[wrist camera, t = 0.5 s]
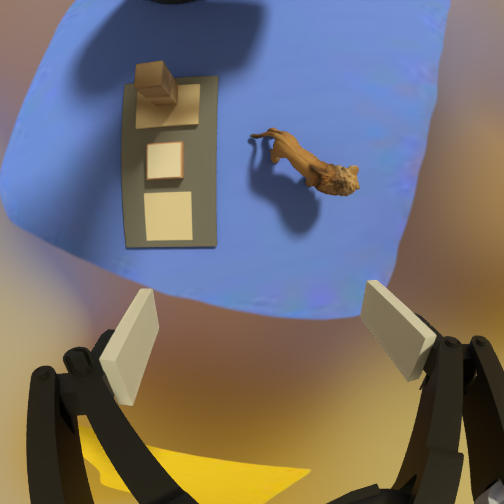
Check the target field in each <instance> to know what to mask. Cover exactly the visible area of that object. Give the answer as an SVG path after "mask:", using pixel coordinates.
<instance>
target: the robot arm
mask: <svg viewBox="0 0 504 504" xmlns="http://www.w3.org/2000/svg"><path fill="white" fill-rule="evenodd" d="M152 1H154V2H158V3H164V4H178V3H185V2H190V1H194V0H152ZM360 319H361V320H362V321H363V323H364V324H365V325H366V327H367V328H368V329H369V330H370V332H371V333H372V334H373V336H374V337H375V338H376V340H377V341H378V342H379V344H380V345H381V346H382V348H383V349H384V350H385V352H386V353H387V354H388V356H389V357H390V358H391V360H392V361H393V362H394V364H395V365H396V366H397V368H398V369H399V370H400V372H401V373H402V374H403V376H404V377H405V379H406V380H407V382H409V381H413V380H416V379H419V377H420V375H421V373H422V371H423V370H424V371H425V372H426V376H425V379H424V381H423V383H422V385H421V387H420V390H421V389H422V393H421V398H420V403H419V407H418V412H417V416H416V420H415V424H414V427H413V431H412V435H411V438H410V442H409V445H408V448H407V452H406V454H405V457H404V461H403V463H402V466H401V469H400V472H399V474H398V477H397V479H396V482H395V483H394V485H393V486H392V488H391V489H379V487H378V485H377V484H374V485H371V486H368V487H364V488H361V489H358V490H355V491H351V492H349V493H347V494H345V495H343V496H341V497H339V498H337V499H335V500H333V501H331V502H329V503H327V504H454V503H455V499H456V496H457V491H458V487H459V482H460V477H461V472H462V466H463V460H464V455H463V453H458V447H459V439H460V430H461V420H462V416H463V421H464V427H465V432H466V439H467V447H468V455H469V465H470V478H471V490H472V496H473V501H474V504H504V371H503V368H502V366H501V364H500V362H499V360H498V358H497V356H496V354H495V352H494V350H493V348H492V346H491V344H490V342H489V341H488V340H487V339H486V338H485V337H482V336H474V337H472V339H471V341H470V344H461V342H460V341H459V340H458V339H456V338H454V337H450V336H446V337H443V336H442V335H441V334H440V333H439V332H438V331H437V330H436V329H435V328H434V327H433V326H431V325H430V324H429V323H428V322H427V321H426V320H425V319H424V318H423V317H421V316H420V315H418V314H416V313H413V312H411V311H410V310H409V309H408V308H407V307H406V306H405V305H404V304H403V303H402V302H401V301H400V300H399V299H397V298H396V297H395V296H394V295H393V294H392V293H391V292H390V291H389V290H387V289H386V288H385V287H384V286H383V285H382V284H381V283H380V282H378V281H377V280H370V281H367V282H366V288H365V294H364V299H363V304H362V310H361V315H360ZM158 330H159V324H158V318H157V314H156V307H155V302H154V295H153V289H140V290H139V292H138V294H137V295H136V297H135V298H134V300H133V302H132V303H131V305H130V307H129V308H128V310H127V312H126V313H125V315H124V317H123V318H122V320H121V322H120V323H119V325H118V327H117V328H116V330H110V329H108V330H107V331H105V332H104V333H103V334H102V335H101V336H100V338H99V339H98V342H97V343H96V344H95V347H94V348H93V349H92V351H91V352H90V351H89V350H88V349H87V348H85V347H75V348H72V349H70V350H68V351H67V352H66V353H65V355H64V356H63V362H64V364H65V366H66V368H67V370H68V373H63V374H56V372H55V370H54V369H53V368H52V367H51V366H41V367H39V368H37V369H36V370H35V371H34V372H33V373H32V376H31V382H30V390H29V399H28V411H27V434H26V436H27V437H26V438H27V440H26V449H27V450H26V451H27V473H28V484H29V493H30V500H31V504H94V501H93V498H92V494H91V491H90V487H89V483H88V478H87V474H86V469H85V465H84V460H83V454H82V449H81V443H80V436H79V429H78V421H77V415H87V418H88V420H89V422H90V424H91V426H92V428H93V430H94V432H95V434H96V436H97V438H98V440H99V441H100V443H101V445H102V447H103V449H104V451H105V452H106V454H107V456H108V458H109V459H110V461H111V463H112V464H113V466H114V467H115V469H116V471H117V472H118V474H119V475H120V477H121V478H122V480H123V481H124V483H125V484H126V486H127V487H128V489H129V490H130V492H131V493H132V494H133V496H134V497H135V499H136V500H137V501H138V503H139V504H199V503H197V502H196V501H195V500H194V499H193V498H192V497H191V496H190V495H189V494H188V493H187V492H185V491H184V490H183V489H182V488H181V487H180V486H179V485H178V484H177V483H176V482H175V481H174V480H173V479H172V478H171V476H170V475H169V474H168V473H167V472H166V471H165V469H164V468H163V467H162V466H161V465H160V463H159V462H158V461H157V460H156V458H155V457H154V456H153V455H152V453H151V452H150V451H149V449H148V448H147V447H146V446H145V444H144V443H143V441H142V440H141V439H140V437H139V436H138V435H137V433H136V432H135V431H134V429H133V427H132V426H131V425H130V423H129V422H128V420H127V419H126V417H125V416H124V414H123V412H122V411H121V409H120V408H119V406H118V405H117V403H116V402H115V400H114V396H115V398H116V401H117V402H118V404H122V405H130V406H133V404H134V401H135V398H136V395H137V392H138V389H139V385H140V382H141V379H142V376H143V373H144V370H145V367H146V364H147V361H148V358H149V356H150V352H151V349H152V347H153V344H154V341H155V338H156V336H157V333H158ZM476 375H477V376H476ZM422 387H423V388H422Z"/></svg>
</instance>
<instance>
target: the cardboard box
mask: <svg viewBox="0 0 504 504" xmlns="http://www.w3.org/2000/svg"><path fill="white" fill-rule="evenodd" d="M134 89H135V90H136V91H138V93H137V108H136V129H145V128H155V127H167V126H182V125H199V102H200V84H189V85H178V84H177V82H176V81H175V79H174V78H173V76H172V74H171V73H170V71H169V70H168V68H167V66H166V65H165V63H164V62H163V61H155V62H148V63H141V64H136V71H135V81H134Z"/></svg>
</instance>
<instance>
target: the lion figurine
mask: <svg viewBox="0 0 504 504" xmlns="http://www.w3.org/2000/svg"><path fill="white" fill-rule="evenodd" d="M265 136H271V137H274V139H275V141H274V144H273V149H271V150H270V153H271V161H272V162H273V163H278V161H279V160H280V159H279V158H287V159H288V160H289V161H290V163H291V164H292V166H293V167H294V168H295V169H296V170H297V171H298V172H299V173H300V174H302V175H303V176H304V177H305V178H306V181H305V182H306V185H307V186H314V187H315V188H316V189H317V190H318V191H320V192H322V193H325V194H329V195H340V196H348V195H350V194H352V193H353V192H354V191H355V190H356V189H360V186H359V183H358V182H357V173H358V171H359V169H358V167H357V166H356V165H354V166H353V165H351V166H349V167H348V168H345V167H342V166H340V165H337V166H335V165H333V164H327V163H325V162H323V161H320V160H319V159H318V158H317V157H316V156H314V155H313V154H311V153H310V152H308V151H307V150H305V149H303V148H302V147H301V146H300V145H299V143H298V141H297V140H296V138H295V137H294V136H292V135H291V134H289V133H288V132H284V131H279V130H277V129H275V128H270V129H268V130H267V132H265V133H262V134H258V135H257V134H252V135H250V137H252V138H256V139H258V138H262V137H265Z"/></svg>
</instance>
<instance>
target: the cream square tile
mask: <svg viewBox="0 0 504 504" xmlns="http://www.w3.org/2000/svg"><path fill="white" fill-rule="evenodd" d="M171 178H184V142H165V143H152V144H147V180H152V179H171Z"/></svg>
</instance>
